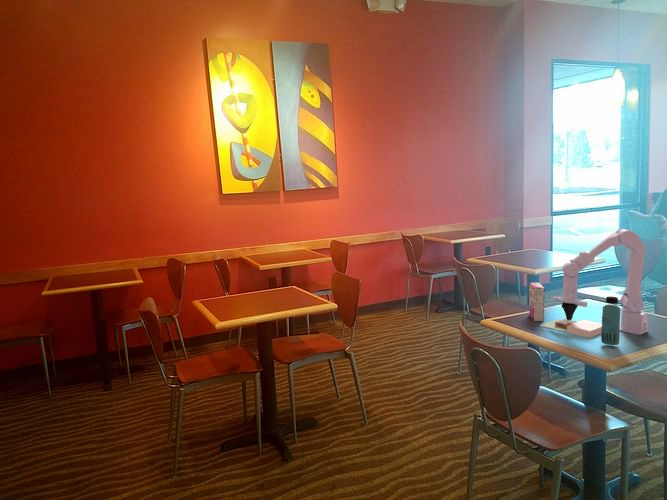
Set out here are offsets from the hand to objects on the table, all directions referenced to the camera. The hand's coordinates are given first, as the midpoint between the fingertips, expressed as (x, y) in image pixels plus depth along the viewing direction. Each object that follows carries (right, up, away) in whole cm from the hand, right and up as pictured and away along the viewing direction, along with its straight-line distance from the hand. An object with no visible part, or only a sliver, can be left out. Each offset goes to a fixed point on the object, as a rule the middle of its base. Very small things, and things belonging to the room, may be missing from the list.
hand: (569, 319), depth 217 cm
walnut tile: (0, -3, +1) cm, 4 cm away
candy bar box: (-8, -2, +17) cm, 19 cm away
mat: (-2, -3, +4) cm, 5 cm away
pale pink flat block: (+5, -4, -6) cm, 9 cm away
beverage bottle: (+4, -7, -24) cm, 26 cm away
